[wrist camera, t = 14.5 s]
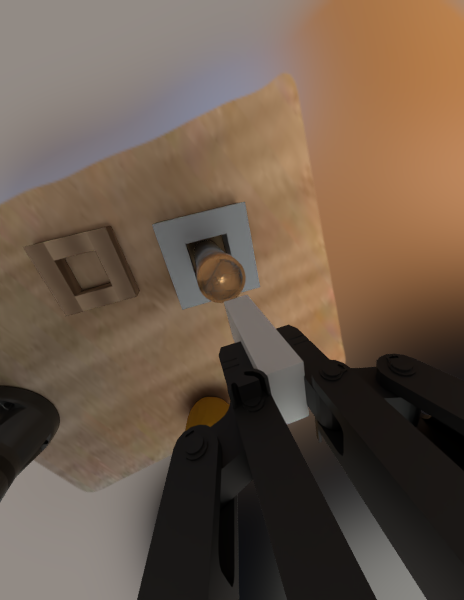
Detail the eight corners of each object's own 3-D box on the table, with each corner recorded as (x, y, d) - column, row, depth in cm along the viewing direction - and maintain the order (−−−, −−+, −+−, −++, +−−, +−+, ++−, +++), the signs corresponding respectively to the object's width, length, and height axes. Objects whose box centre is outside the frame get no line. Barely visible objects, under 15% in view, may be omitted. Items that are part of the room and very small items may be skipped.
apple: (235, 380, 45) (253, 439, 33) (234, 417, 49) (250, 482, 37) (181, 388, 43) (181, 454, 31) (185, 426, 47) (186, 497, 35)
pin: (196, 270, 35) (205, 308, 21) (187, 242, 33) (191, 263, 19) (223, 263, 35) (249, 295, 22) (216, 234, 33) (240, 250, 20)
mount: (74, 309, 33) (66, 316, 31) (35, 244, 29) (22, 247, 26) (139, 291, 34) (136, 296, 32) (111, 226, 30) (105, 227, 28)
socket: (182, 297, 36) (182, 309, 31) (156, 222, 31) (152, 224, 26) (250, 277, 37) (260, 286, 33) (236, 203, 32) (244, 201, 28)
